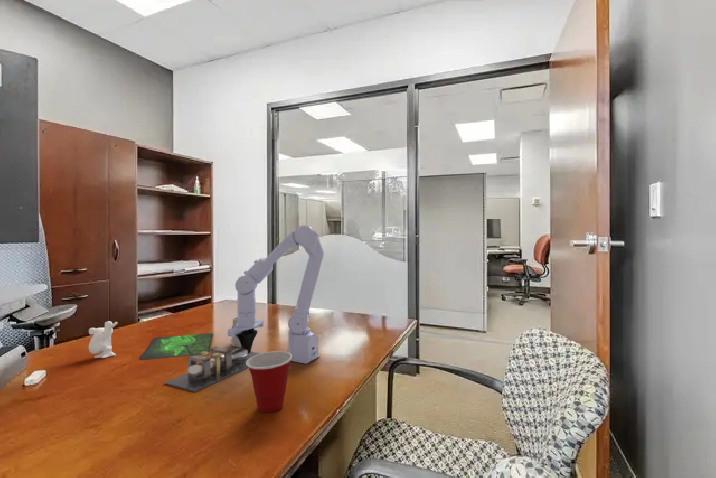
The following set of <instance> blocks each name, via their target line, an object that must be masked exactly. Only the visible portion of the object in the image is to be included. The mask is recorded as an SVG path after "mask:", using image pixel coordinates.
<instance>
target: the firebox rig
mask: <svg viewBox="0 0 716 478" xmlns="http://www.w3.org/2000/svg"><path fill="white" fill-rule="evenodd" d="M232 351H233V350H232V349H228V348H224V347H222V348H221V347H217V346H214V347H212V348H210V352H205V351H204V352H201V355H192V356H187V358H188V359H187V368H188V367H191V366H193V365H196V364H197V362H198V363H201V362H202V375H199V376H197V377H195V378H192V379H191V378H189V377H188V375H187V373H185V374H182V375H178V376H177V377H175V378H171V379H168V380H167V381H165V382H164V383H163V384H164V385H166V386H169V387H174V388H177V389H181V390H185V391H189V392H192V393H197V392H198V391H201V390H203V389H205V388H207V387H209V386H212V385H214V384H216V383H219V382H221V381H222V380H224V379H227V378H229V377H231V376H233V375H235V374H238V373H240V372H242V371H245V370H246V369H249V368H248V366H247V365H246V361H247V360H248V359H249V358H251V357H253V356H255V355H258V354H261V353H262V352H261V353H260V352H255V351H251V352H250V353H248V354H247V356H245V357H243V358H240V359H238V360H235V361H233V362H232ZM222 354H224V365H223V366H221V367H220V355H222ZM207 356H210V357H207ZM212 357H215V369H214V370H211V371H210V359H212Z"/></svg>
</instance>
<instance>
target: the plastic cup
mask: <svg viewBox="0 0 716 478" xmlns="http://www.w3.org/2000/svg"><path fill="white" fill-rule="evenodd" d="M291 360H292V354H291V353H289V352H288V351H286V350H285V351H284V350H274V351H267V352H261V354H258V355H255V356H253V357H251V358H249V359H248V360H247V361H246V365H247V366H248V368H247V369H248V370H249V372H250V376H251V380H252V385H253V391H254V396H255V400H256V406H257V409H258V411H259V412H262V413H273V412H274V413H275V412H277V411H279V410H281V409H282V408H283V405H284V401H285V394H286V391H287V382H288V375H289V371H290V366H291V365H290V364H291V362H292V361H291Z"/></svg>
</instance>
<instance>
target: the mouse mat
mask: <svg viewBox="0 0 716 478" xmlns="http://www.w3.org/2000/svg"><path fill="white" fill-rule="evenodd" d="M213 336H214V333H212V332H211V333H210V332H209V333H208V332H207V333H206V332H205V333H191V334H183V335H182V334H181V335H170V336H169V335H167V336H162V337H161V336H159V337H158V336H157V337H153V339H152V341H151V342H150V343H149V344H148V346H147V347H146V348H145V350H144V352H142V354H141V356H140V357H139V358H138V360H140V361H147V360H148V361H149V360H150V361H151V360H159V359H168V358H179V357H189V356H192V355H198V356H201V352H204V351H205V352H209V353H211V350H210V349H211V345H212V341H213Z"/></svg>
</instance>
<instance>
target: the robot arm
mask: <svg viewBox="0 0 716 478" xmlns="http://www.w3.org/2000/svg"><path fill="white" fill-rule="evenodd" d="M319 237H320V236H319V234H318V233H317V232H316V231H315V229H314V228H313V227H311V226H309V225H304V224H302V225H299V226H298V227H297V228H296V229H295V230H294V231H291V232H290V233H289V234H288V235H286V237H285V238H283V240H281V241H280V242H279V244H278V245H277V246H276V247H275V248H274V249H273V250H272V251H271V252H270V253H269V254H268V255H267V256H266V257H260V258H259V259H255V260H254V261H253V265H252V266H251V267H249V268H248V269H247V270H244V272H243V274H244V275H242V276H239V277H238V278H237V280H236V281H235V284H234V286H235V290H236V291H237V303H236V304H237V306H236V308H237V309H236V310H237V312H236V313H237V316H236V317H237V319H238V324H236V326H235V327H233V328H232V327H231V328H229V329H228V330H227V337H231V338H232V337H233V336H235V335H236V336H237V337H238V339H239V341H240V343H241V346H242V347H246V349H247V351H248V353H250V352H252V351H251V350H252V348H253V343H254V341H255V338H256V337H257V335H258V330H257V328H261V327H264V326H265V325H264V324H265V323H264V321H265V320H260V319H258V320H256V319H257V318H256V317H257V316H256V315H257V314H256V312H257V311H256V289H257V287H258V284H261V283H262V281H264V280H265V278H267V277H268V276H269V275H270V274H271V273H272V271H273V270H274V264H275V263H276V262H278V260H279V259H280V258H282V257H283V255H285V253H287V252H288V251H289V250H290V249H291V248H294V247H298V246H301V247H302V248H303V249H304V250H305V252H306V253H307V254H308V259H307V263H306V267H305V270H304V275H303V279H302V282H301V285H300V290H299V294H298V297H297V301H296V304H295V307H294V310H293V312H292V313H291V316H290V317H289V319H288V322H287V325H288V328H289V329H288V330H287V331H288V332H287V333H288V338H287V340H288V348H287V349H288V350H287V352H289V353H291V354H292V360H291V361H290V362H295V363H300V364H309V363H310V362H312V361H314V360H316V359H318V358H320V355H319V336H318V335H317V334H316V333H314V332H312V331H311V328H310V327H309V322H310V320H311V316H310V309H311V304H312V300H313V297H314V296H313V295H314V293H315V292H314V291H315V288H316V285H317V281H318V277H319V273H320V269H321V266H322V261H323V259H324V255H325V253H324V252H325V251H324V249H323V246H322V243H321V241H320V238H319Z"/></svg>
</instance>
